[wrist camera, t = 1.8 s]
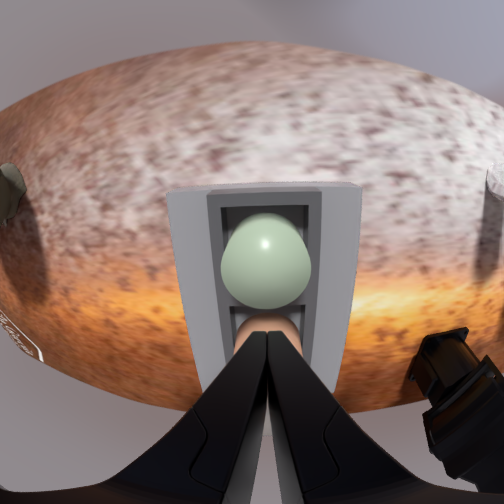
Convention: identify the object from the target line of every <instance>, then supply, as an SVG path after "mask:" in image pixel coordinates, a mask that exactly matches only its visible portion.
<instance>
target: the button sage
mask: <svg viewBox="0 0 504 504" xmlns="http://www.w3.org/2000/svg"><path fill="white" fill-rule="evenodd" d="M221 275H222V279H223V282H224V284H225V286H226V288H227V290H228V291H229V292H230V294H231V295H232V296H233V297H234V298H236V299H237V300H238V301H240V302H241V303H243V304H245V305H247V306H250V307H253V308H258V309H274V308H279V307H282V306H284V305H287V304H289V303H290V302H292V301H294V300H295V299H296V298H297V297H298V296H299V295H300V294H301V293H302V292H303V291H304V289H305V288H306V286H307V284H308V282H309V279H310V275H311V261H310V257H309V254H308V252H307V249H306V247H305V244H304V242H303V239H302V237H301V234H300V232H299V230H298V229H297V227H296V226H295V225H294V224H293V223H292V222H291V221H290V220H288V219H287V218H285V217H283V216H281V215H278V214H275V213H257V214H254V215H251V216H249V217H247V218H245V219H244V220H242V221H241V222H240V223H239V224H238V225H237V226H236V227H235V228H234V230H233V232H232V234H231V236H230V239H229V241H228V244H227V246H226V249H225V251H224V254H223V257H222V261H221Z"/></svg>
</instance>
